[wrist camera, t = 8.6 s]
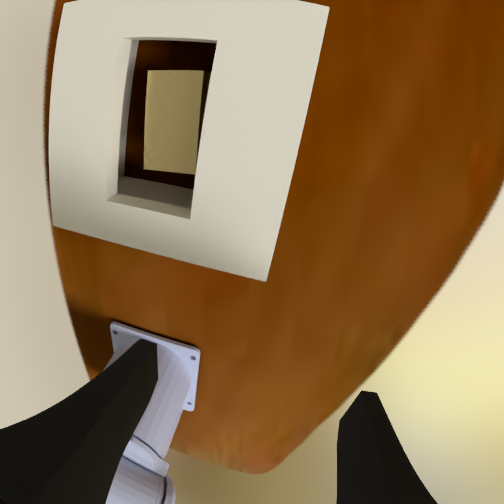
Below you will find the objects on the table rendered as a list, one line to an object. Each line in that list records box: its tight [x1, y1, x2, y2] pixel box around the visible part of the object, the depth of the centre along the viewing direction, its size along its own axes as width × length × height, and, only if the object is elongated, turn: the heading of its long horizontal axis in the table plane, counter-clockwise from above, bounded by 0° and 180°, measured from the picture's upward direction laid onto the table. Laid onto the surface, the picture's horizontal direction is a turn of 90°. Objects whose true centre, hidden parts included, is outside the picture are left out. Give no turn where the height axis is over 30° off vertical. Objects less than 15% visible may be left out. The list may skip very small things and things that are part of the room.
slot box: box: [49, 0, 329, 282], centre depth 14 cm, size 11×11×6 cm
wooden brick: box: [144, 70, 211, 175], centre depth 14 cm, size 4×2×4 cm, turn 174°
